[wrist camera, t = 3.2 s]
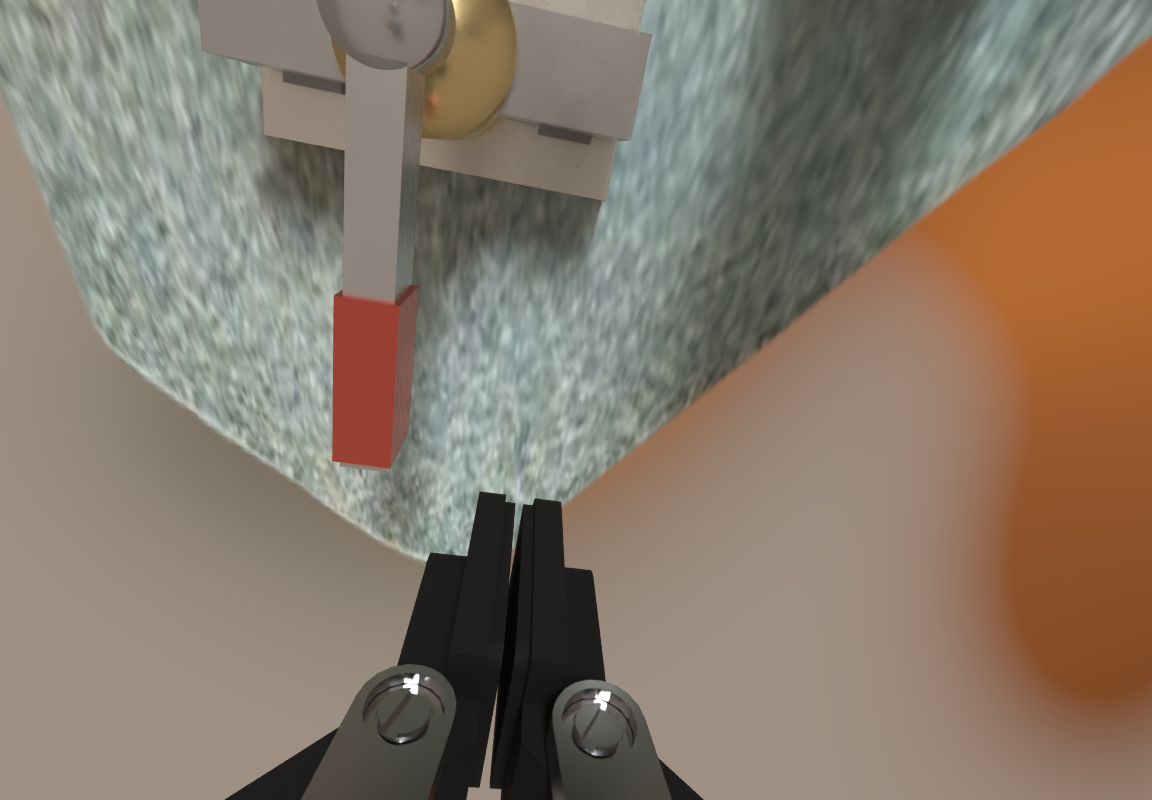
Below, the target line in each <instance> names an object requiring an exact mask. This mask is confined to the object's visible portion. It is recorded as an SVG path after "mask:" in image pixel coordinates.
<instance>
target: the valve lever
mask: <svg viewBox="0 0 1152 800" xmlns="http://www.w3.org/2000/svg"><path fill="white" fill-rule="evenodd" d="M316 1H317V6H318V9H319V13H320V15H321V18H322V20H323V23H324V25H325V27H326V29H327V30H328V32H329V34H330V35H331V37H332V38H333V40H334V41H335V42H336V43H337V44H338V46H339V47H340V48H341V49H342V50H343V51H344V52H345V53H346V95H345V163H344V231H343V290H341V291H340V292H339V293H337V294H336V295H334V324H333V446H332V461H335V462H340V466H343V467H350V468H358V469H366V470H373V471H381V472H386V470H387V468H389V469H390V468H391V466H392V464H393V462H394V460H395V458H396V456H397V454H398V452H399V450H400V448H401V446H402V444H403V442H404V440H405V438H406V436H407V434H408V428H409V414H410V400H411V386H412V372H413V358H414V343H415V329H416V315H417V301H418V287H419V286H413V285H412V273H413V258H414V243H415V227H416V212H417V197H418V181H419V166H420V151H421V135H422V120H423V105H424V90H425V77H426V76H428V75H430V74H432V73H433V72H434V71H436V70H437V69H438V68H439V67H440V66H441V65H442V64H443V63H444V61H445V60H446V59H447V57H448V55H449V53H450V51H451V49H452V46H453V43H454V39H455V32H456V17H455V10H454V5H453V2H452V0H316Z"/></svg>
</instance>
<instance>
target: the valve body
mask: <svg viewBox="0 0 1152 800" xmlns="http://www.w3.org/2000/svg"><path fill="white" fill-rule="evenodd" d="M452 2H453V5H454V10H455V17H456V32H455V39H454V43H453V46H452V49H451V51H450V53H449V55H448V57H447V59H446V60H445V61H444V63H443V64H442V65H441V66H440V67H439V68H438V69H437V70H436V71H434V72H433V73H432V74H430V75H428V76H426V77H425V90H424V105H423V120H422V135H421V151H420V165H422V166H427V167H432V168H437V169H442V170H448V171H453V172H458V173H463V174H468V175H473V176H478V177H484V178H489V179H494V180H499V181H504V182H509V183H514V184H520V185H525V186H530V187H535V188H540V189H545V190H550V191H556V192H561V193H566V194H571V195H576V196H581V197H586V198H592V199H597V200H602V201H606V197H607V192H608V187H609V182H610V177H611V172H612V166H613V161H614V156H615V151H616V146H617V141H628V140H631V135H632V130H633V125H634V121H635V116H636V111H637V106H638V101H639V96H640V91H641V86H642V81H643V77H644V72H645V67H646V62H647V57H648V52H649V47H650V42H651V37H652V34H647V33H643V32H639V29H640V23H641V18H642V13H643V8H644V3H645V0H452ZM198 7H199V20H200V33H201V47H202V51H204V52H207V53H211V54H215V55H218V56H222V57H225V58H229V59H232V60H236V61H240V62H243V63H247V64H250V65H255V66H260V67H262V90H263V116H264V135H267V136H273V137H278V138H283V139H288V140H293V141H298V142H303V143H309V144H314V145H319V146H324V147H329V148H334V149H339V150H345V95H346V53H345V52H344V51H343V50H342V49H341V48H340V47H339V46H338V44H337V43H336V42H335V41H334V40H333V38H332V37H331V35H330V34H329V32H328V30H327V29H326V27H325V25H324V23H323V20H322V18H321V15H320V13H319V9H318V6H317V1H316V0H198Z"/></svg>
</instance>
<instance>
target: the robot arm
mask: <svg viewBox="0 0 1152 800" xmlns="http://www.w3.org/2000/svg"><path fill="white" fill-rule="evenodd" d="M505 500H506V495H503V494H495V493H487V492H480V493H479V498H478V503H477V508H476V514H475V519H474V524H473V529H472V535H471V540H470V545H469V550H468V556H458V555H449V554H439V553H430V555H429V557H428V560H427V564H426V567H425V571H424V575H423V578H422V581H421V585H420V588H419V592H418V595H417V599H416V602H415V606H414V609H413V613H412V616H411V620H410V623H409V627H408V630H407V634H406V637H405V640H404V644H403V648H402V651H401V654H400V658H399V661H398V665H397V666H394V667H391V668H389V669H387V670H384V671H382V672H380V673H378V674H376V675H375V676H374V677H372V678H371V679H370V680H369V681H368V682H366V683H365V684H364V685H363V687H362V688H361V690H360V691H359V692H358V694H357V695H356V697H355V699H354V700H353V702H352V704H351V706H350V708H349V710H348V712H347V714H346V715H345V717H344V719H343V721H342V723H341V725H340V727H339V728H337V729H335V730H334V731H332V732H331V733H329V734H327V735H326V736H324V737H323V738H321V739H320V740H318V741H316V742H315V743H313V744H312V745H310V746H309V747H307V748H305V749H304V750H302V751H301V752H299V753H298V754H296V755H295V756H293V757H291V758H290V759H288V760H286V761H285V762H283V763H282V764H280V765H279V766H277V767H275V768H274V769H272V770H271V771H269V772H267V773H266V774H264V775H263V776H261V777H260V778H258V779H256V780H255V781H253V782H252V783H250V784H249V785H247V786H245V787H244V788H242V789H241V790H239V791H237V792H236V793H234V794H233V795H231V796H230V797H228V798H226V799H225V800H466V798H467V792H468V787H476V788H479V787H480V782H481V776H482V771H483V765H484V760H485V754H486V748H487V743H488V738H489V732H490V726H491V721H492V715H493V710H494V704H495V699H496V693H497V688H498V693H497V705H496V716H495V728H494V741H493V751H492V763H491V775H490V788H493V789H501V800H703V799H702V798H701V797H700V796H699V795H698V794H697V793H696V792H695V791H693V790H692V789H691V788H690V787H689V786H688V785H687V784H686V783H685V782H684V781H683V780H682V779H680V778H679V777H678V776H677V775H676V774H675V773H674V772H673V771H672V770H671V769H669V767H667V766H666V765H665V764H664V763H663V762H662V761H661V760H660V759H659V758H658V756H657V753H656V750H655V747H654V744H653V741H652V738H651V736H650V732H649V729H648V726H647V723H646V720H645V718H644V716H643V714H642V712H641V710H640V708H639V706H638V704H637V703H636V702H635V701H634V700H633V699H632V698H631V696H630V695H629V694H628V693H626V692H625V691H623V690H622V689H620V688H619V687H617V686H615V685H612V684H610V683H607V682H606V680H605V671H604V663H603V654H602V646H601V638H600V629H599V620H598V612H597V604H596V595H595V587H594V578H593V573H592V571H591V570H583V569H575V568H566V567H565V566H564V548H563V527H562V507H561V502H559V501H551V500H543V499H534V503H533V505H526V504H524V505H523V509H522V515H521V520H520V526H519V532H518V538H517V543H516V549H515V555H514V561H513V566H512V573H511V578H510V583H509V577H510V565H511V553H512V540H513V528H514V516H515V503H510V502H505Z"/></svg>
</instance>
